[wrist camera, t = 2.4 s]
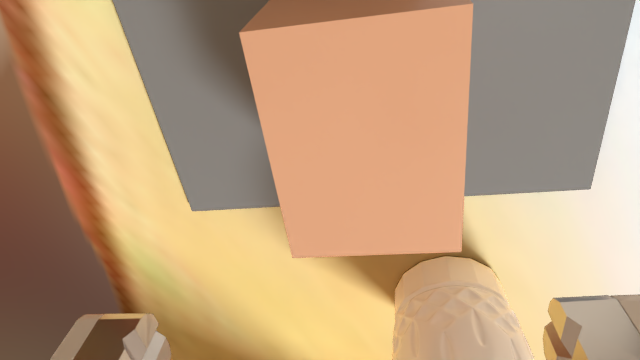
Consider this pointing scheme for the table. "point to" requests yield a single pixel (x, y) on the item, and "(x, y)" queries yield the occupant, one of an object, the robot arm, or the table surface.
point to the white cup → (455, 314)
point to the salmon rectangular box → (364, 121)
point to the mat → (483, 110)
